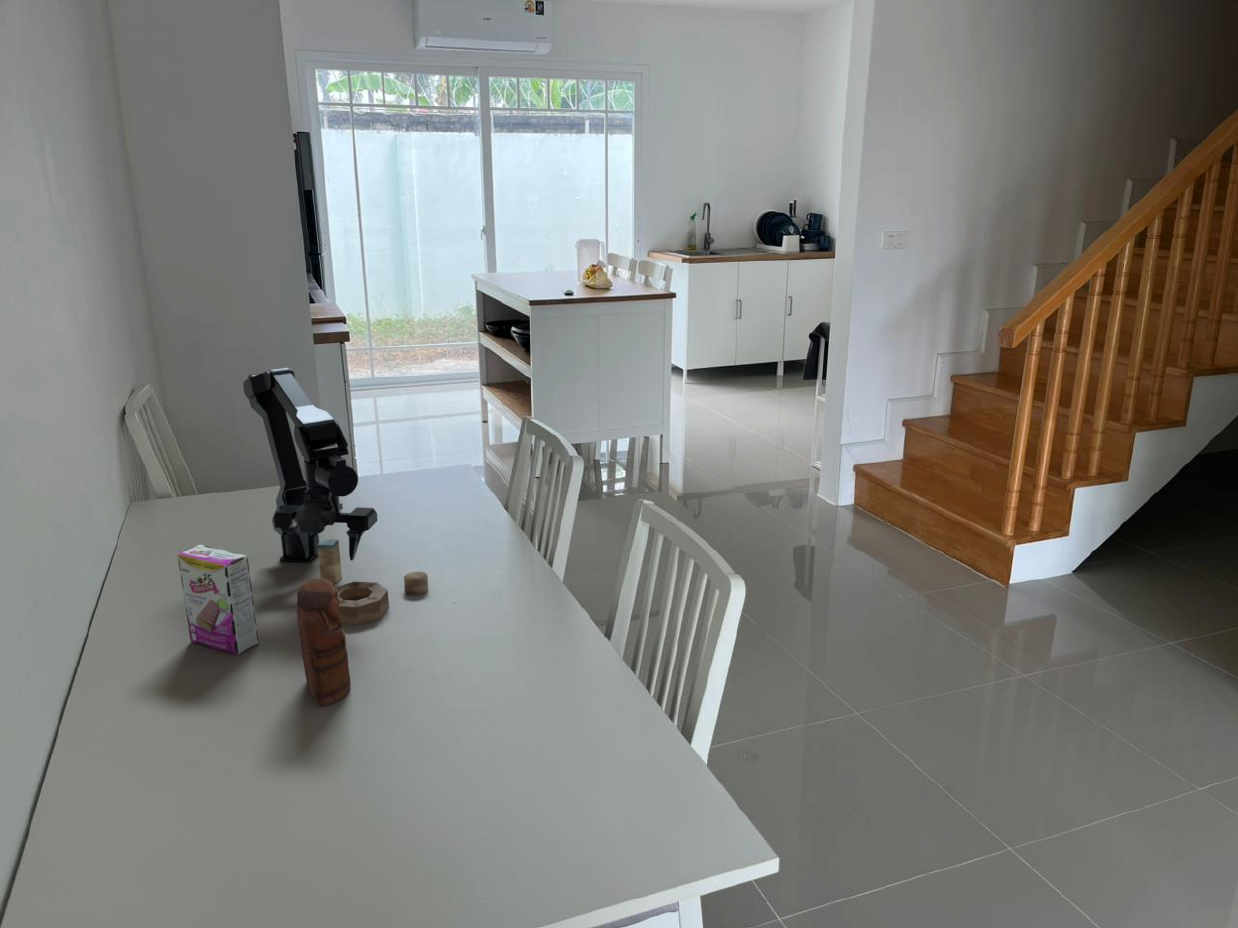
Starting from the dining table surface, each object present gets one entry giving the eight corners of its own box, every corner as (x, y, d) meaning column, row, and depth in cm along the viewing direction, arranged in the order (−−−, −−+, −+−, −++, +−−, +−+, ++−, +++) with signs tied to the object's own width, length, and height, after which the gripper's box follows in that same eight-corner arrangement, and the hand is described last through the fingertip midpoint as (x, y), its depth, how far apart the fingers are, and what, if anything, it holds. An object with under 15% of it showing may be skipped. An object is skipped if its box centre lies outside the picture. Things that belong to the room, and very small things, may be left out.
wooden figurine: (356, 700, 143) (346, 591, 137) (313, 710, 140) (301, 599, 135) (341, 665, 153) (331, 562, 147) (300, 674, 150) (289, 569, 145)
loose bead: (401, 595, 178) (400, 580, 177) (409, 585, 183) (407, 571, 182) (424, 596, 178) (423, 581, 177) (431, 586, 182) (430, 572, 181)
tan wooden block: (321, 582, 183) (317, 544, 181) (327, 576, 186) (323, 538, 184) (336, 583, 183) (332, 545, 181) (341, 577, 186) (338, 539, 184)
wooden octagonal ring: (317, 623, 167) (316, 605, 166) (340, 597, 177) (338, 580, 176) (375, 625, 166) (373, 607, 165) (394, 600, 176) (393, 583, 175)
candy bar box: (188, 643, 160) (175, 553, 155) (211, 630, 164) (199, 543, 159) (237, 656, 155) (225, 564, 151) (260, 643, 160) (249, 553, 155)
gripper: (255, 494, 172) (264, 573, 177) (354, 498, 170) (361, 577, 175) (281, 476, 183) (289, 551, 187) (375, 479, 181) (381, 554, 186)
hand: (329, 558), depth 183 cm, fingers open, 9 cm apart
